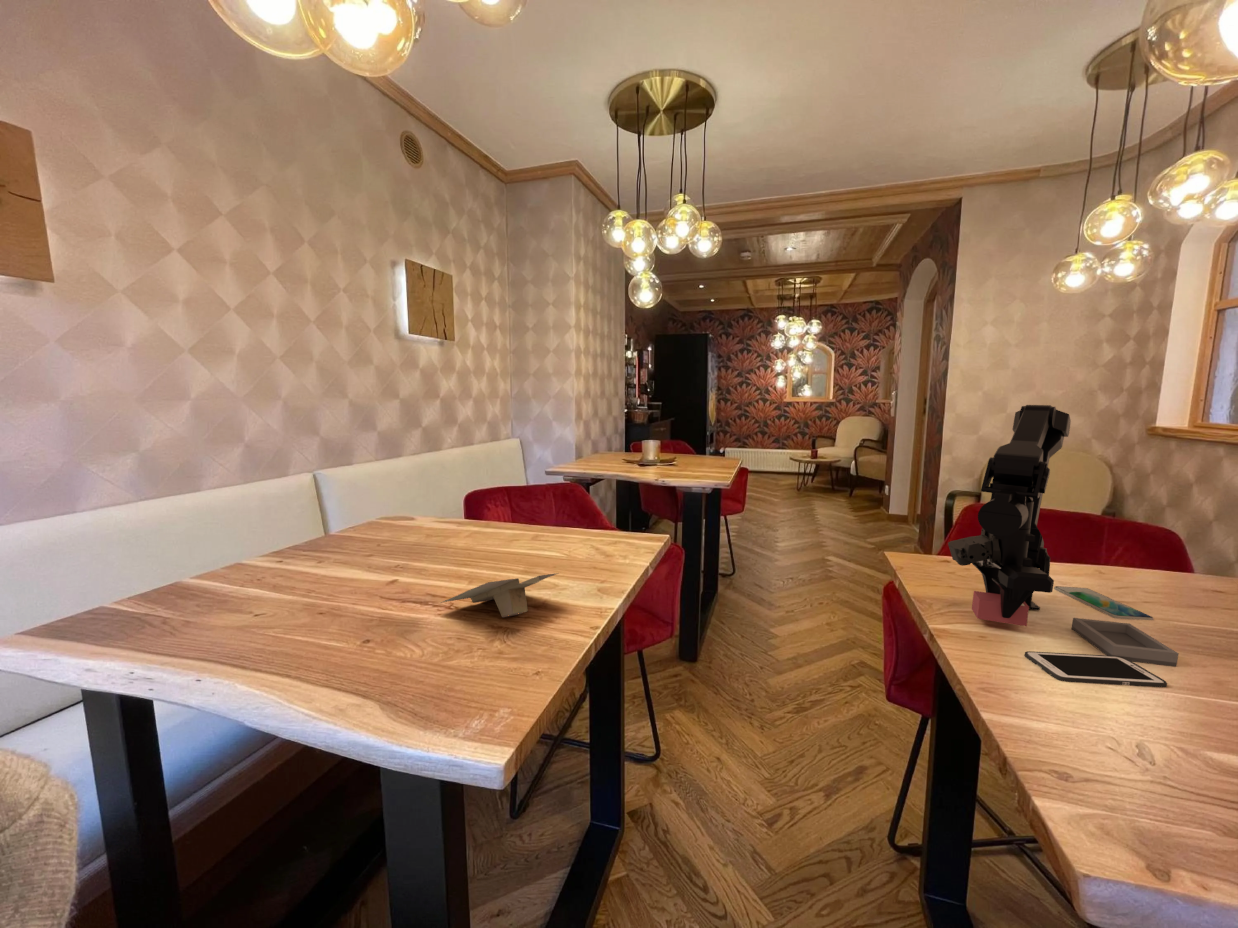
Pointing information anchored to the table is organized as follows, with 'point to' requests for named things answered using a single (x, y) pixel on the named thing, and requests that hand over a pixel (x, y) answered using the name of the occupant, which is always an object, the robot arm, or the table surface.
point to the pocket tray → (1124, 641)
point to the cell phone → (1094, 669)
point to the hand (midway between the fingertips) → (998, 611)
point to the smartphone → (1103, 603)
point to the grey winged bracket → (502, 594)
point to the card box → (997, 609)
